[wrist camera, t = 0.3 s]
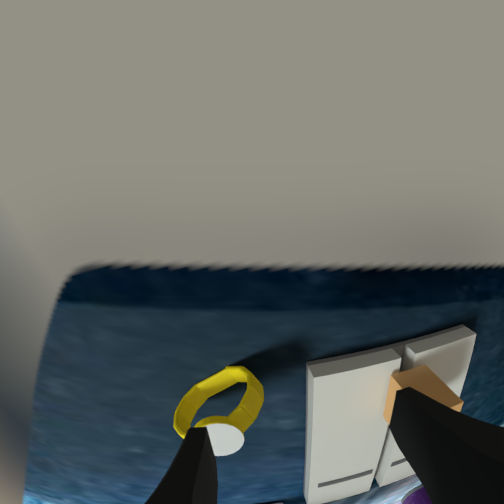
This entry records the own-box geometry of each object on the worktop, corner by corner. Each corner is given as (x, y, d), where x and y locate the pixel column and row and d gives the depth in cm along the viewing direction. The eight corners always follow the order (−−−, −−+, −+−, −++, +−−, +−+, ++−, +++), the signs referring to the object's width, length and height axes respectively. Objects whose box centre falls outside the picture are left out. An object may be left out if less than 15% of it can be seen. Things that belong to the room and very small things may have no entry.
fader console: (423, 455, 25) (431, 467, 23) (303, 492, 24) (307, 507, 22) (462, 324, 21) (477, 334, 19) (306, 361, 20) (314, 378, 18)
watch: (239, 345, 20) (254, 398, 14) (261, 373, 21) (281, 427, 15) (168, 389, 20) (161, 447, 14) (193, 413, 21) (194, 471, 15)
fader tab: (406, 394, 22) (447, 443, 15) (374, 404, 21) (411, 459, 15) (414, 354, 21) (463, 401, 14) (381, 363, 20) (426, 417, 14)
